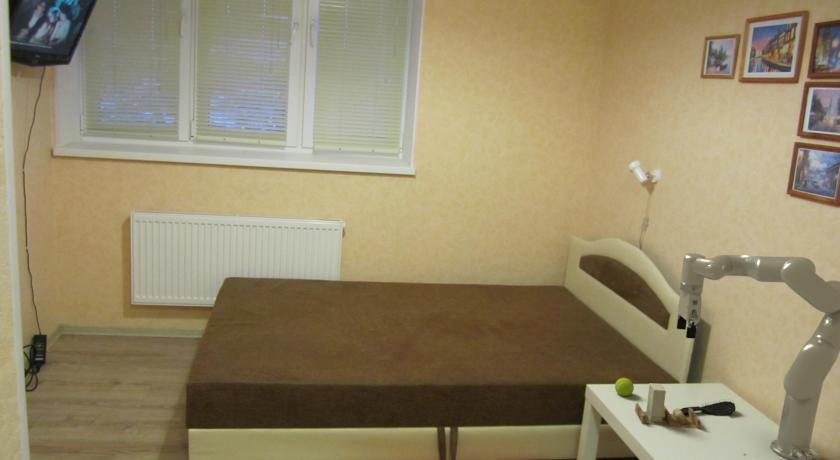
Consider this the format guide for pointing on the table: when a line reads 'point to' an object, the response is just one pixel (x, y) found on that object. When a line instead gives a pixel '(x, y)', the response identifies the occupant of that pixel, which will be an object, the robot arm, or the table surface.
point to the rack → (669, 418)
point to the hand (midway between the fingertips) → (685, 333)
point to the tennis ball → (624, 387)
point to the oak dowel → (680, 416)
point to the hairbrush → (714, 408)
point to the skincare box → (655, 402)
